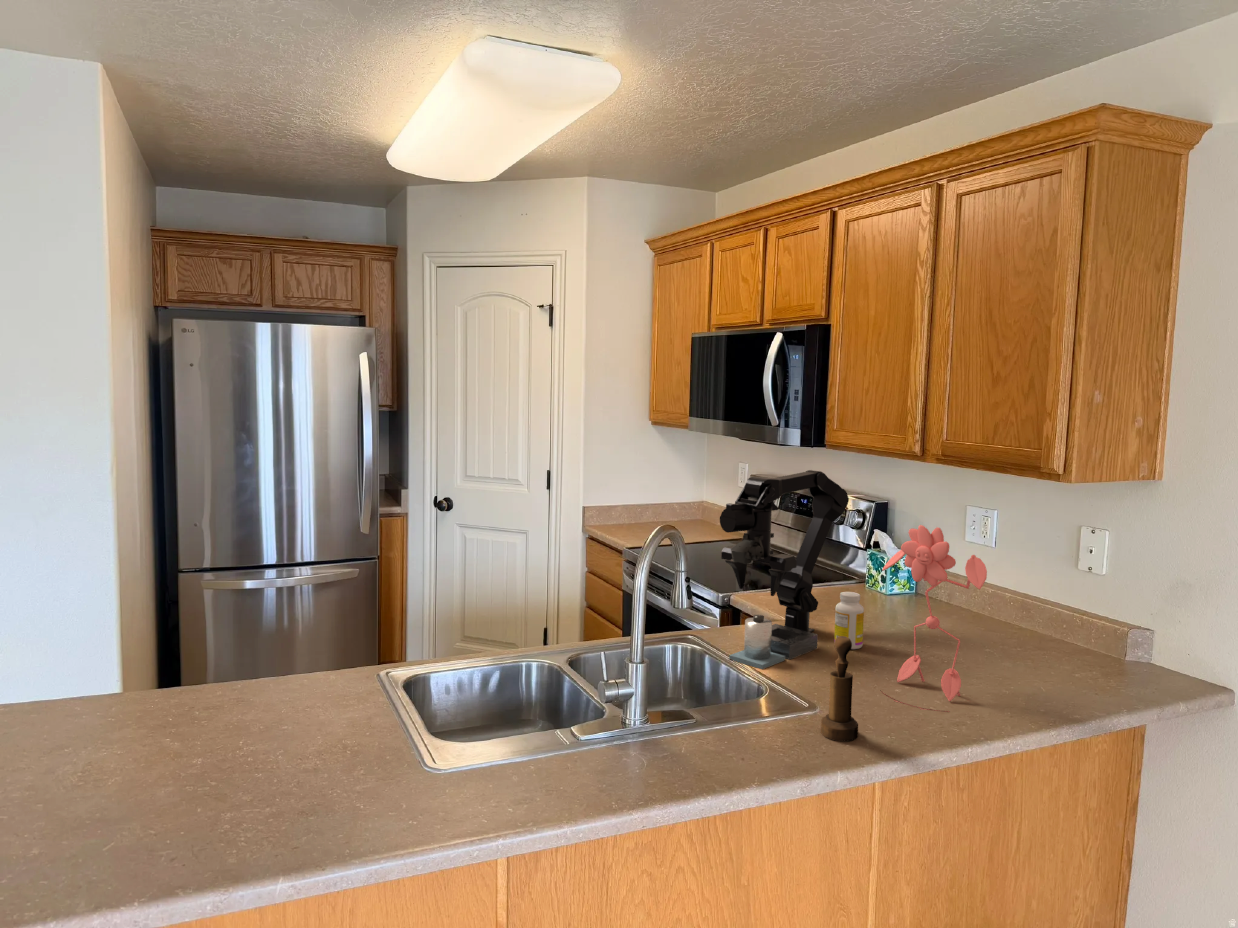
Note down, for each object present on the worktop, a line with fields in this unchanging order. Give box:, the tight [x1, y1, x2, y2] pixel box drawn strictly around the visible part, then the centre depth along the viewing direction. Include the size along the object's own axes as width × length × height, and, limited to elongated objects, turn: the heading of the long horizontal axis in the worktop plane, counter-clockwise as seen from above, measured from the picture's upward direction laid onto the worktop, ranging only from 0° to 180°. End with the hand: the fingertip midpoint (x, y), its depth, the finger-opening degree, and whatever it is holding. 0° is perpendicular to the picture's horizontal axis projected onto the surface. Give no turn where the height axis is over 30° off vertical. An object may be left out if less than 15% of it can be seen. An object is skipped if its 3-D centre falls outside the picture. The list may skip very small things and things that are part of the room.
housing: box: [771, 623, 819, 660], centre depth 200 cm, size 12×12×4 cm
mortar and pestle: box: [820, 636, 859, 742], centre depth 151 cm, size 7×6×18 cm
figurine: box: [880, 524, 988, 713], centre depth 170 cm, size 15×26×35 cm, turn 30°
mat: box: [728, 649, 786, 670], centre depth 191 cm, size 9×9×1 cm
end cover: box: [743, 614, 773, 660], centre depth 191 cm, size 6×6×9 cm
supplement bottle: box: [833, 591, 865, 650], centre depth 202 cm, size 7×7×13 cm
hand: (756, 592), depth 205 cm, fingers open, 9 cm apart
